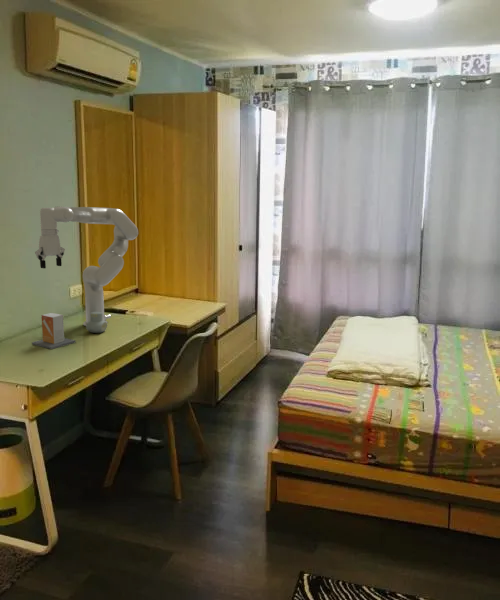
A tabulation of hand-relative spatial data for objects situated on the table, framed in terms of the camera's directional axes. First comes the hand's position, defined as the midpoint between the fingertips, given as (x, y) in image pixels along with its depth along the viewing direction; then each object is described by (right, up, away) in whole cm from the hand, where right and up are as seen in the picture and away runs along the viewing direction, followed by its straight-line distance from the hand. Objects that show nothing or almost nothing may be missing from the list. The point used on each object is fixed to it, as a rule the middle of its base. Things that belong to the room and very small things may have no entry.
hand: (51, 267), depth 298 cm
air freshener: (+21, -33, +7) cm, 40 cm away
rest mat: (+6, -37, -15) cm, 41 cm away
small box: (+6, -37, -15) cm, 40 cm away
